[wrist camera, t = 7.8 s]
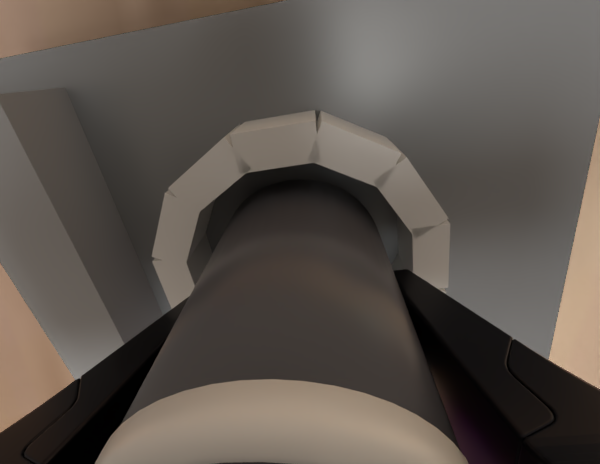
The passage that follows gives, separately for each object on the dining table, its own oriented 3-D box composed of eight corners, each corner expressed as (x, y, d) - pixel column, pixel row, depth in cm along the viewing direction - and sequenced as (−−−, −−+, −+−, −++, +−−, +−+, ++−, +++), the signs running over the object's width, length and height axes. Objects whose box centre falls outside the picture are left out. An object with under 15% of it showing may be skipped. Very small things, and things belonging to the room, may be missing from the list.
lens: (377, 165, 10) (559, 467, 2) (386, 309, 12) (496, 689, 5) (203, 190, 10) (-65, 499, 3) (243, 323, 12) (144, 683, 5)
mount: (556, -38, 11) (761, -122, 6) (509, 316, 17) (589, 419, 12) (30, 66, 12) (-149, 70, 8) (160, 350, 19) (106, 451, 14)
